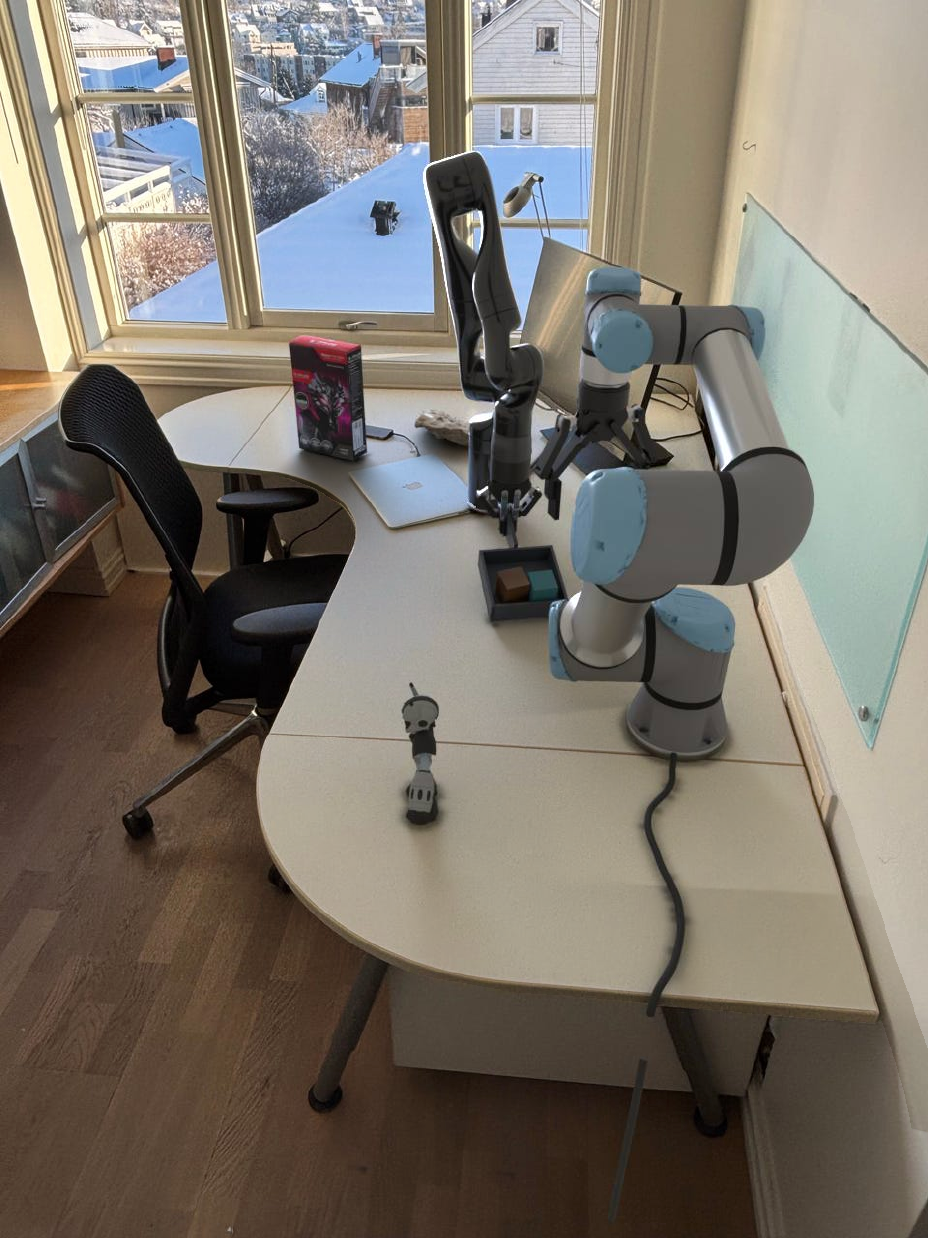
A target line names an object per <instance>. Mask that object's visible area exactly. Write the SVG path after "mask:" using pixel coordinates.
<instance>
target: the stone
mask: <svg viewBox="0 0 928 1238" xmlns="http://www.w3.org/2000/svg"><path fill="white" fill-rule="evenodd" d="M414 420H415V422H414V424H413V425H414V428H416V429H419V428H420V429H421V428H422V429H423V428H424V429H425V430H426V431H427V432H428V433H430V434H433V435H435V438H436V439H438V440H445V439H446V440H448V441H450V442H452V443H457V444H459V445H462V446H466V447H469V421H464V420H460V419H458V418H457V417H452V416H451V415H450V414H449V413H446V412H445V411H442V410H437V409H429V410H422V411H421V412H420V413H419V415H416V417H415V418H414Z"/></svg>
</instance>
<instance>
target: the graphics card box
mask: <svg viewBox="0 0 928 1238" xmlns="http://www.w3.org/2000/svg"><path fill="white" fill-rule="evenodd" d="M288 348H289V349H288V350H289V358H290V367H291V377H292V389H293V399H294V409H295V418H296V419H295V420H296V428H297V429H296V431H297V437H298V438H297V441H298V448H299V449H301V450H305V451H309V452H313V453H318V454H323V455H327V456H331V457H335V458H339V459H344V460H347V461H351V462H354V461H356V460H358V459H359V458H360V457H362V456H364V455H365V454H367V453H368V445H367V444H368V443H367V426H366V410H365V393H364V377H363V376H364V375H363V356H362V345H361V343H360V344H359V343H351V342H346V341H341V340H335V339H334V340H333V339H329V338H325V337H324V338H323V337H318V336H313V335H308V334H301V335H299V336H297V337H295V338H293V339H292V340H291V341H289V342H288Z"/></svg>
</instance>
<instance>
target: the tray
mask: <svg viewBox="0 0 928 1238" xmlns="http://www.w3.org/2000/svg"><path fill="white" fill-rule="evenodd" d="M506 520H507V532H506V537H505V538H506V542H507V546H508V547H506V548H505V547H504V548H503V547H502V548H490V549H478V557H477V568H478V573H479V577H480V582H481V586H482V591H483V595H484V600H485V605H486V609H487V613H488V618H489V622H503V621H513V620H514V621H515V620H526V619H527V620H528V619H538V618H549V612H550V605H551V604H552V603H553V602H555V601H562V600H564V599H565V600H570V599H569V595H568V592H567V589H566V585H565V582H564V580H563V576H562V573H561V569H560V566H559V563H558V559H557V556H556V552H555V549H554V545H553V544H548V545H533V546H519V540H518V537H517V532H516V533H515V529H514V525H513V521H512V517H511V514H510V507H508V508H507V512H506ZM517 567H521V568H522V570H523V572H524V574H525V575H526V577H527V575H528V572H536V571H545V570H552V572H553V575H554V578H555V581H556V583H557V586H558V590H557V595H556V600H546V601H533V602H521V603H508V604H500V602H499V600H498V598H497V596H496V594H495V591H496V584H497V576H498V572H500V571H504V570H509V569H513V568H517Z"/></svg>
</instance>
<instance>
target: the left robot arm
mask: <svg viewBox="0 0 928 1238" xmlns="http://www.w3.org/2000/svg"><path fill="white" fill-rule="evenodd" d="M423 184H424V190H425V195H426V199H427V204H428V208H429V212H430V215H431V219H432V224H433V227H434V232H435V235H436V239H437V243H438V246H439V253H440V257H441V263H442V270H443V277H444V282H445V289H446V294H447V295H446V296H447V300H448V305H449V309H450V313H451V318H452V319H451V320H452V322H453V328H454V334H455V335H454V336H455V339H456V346H457V347H456V349H457V356H458V357H457V358H458V368H459V380H460V386H461V390H462V393H463V395H464V396H465V397H466V399H468V400H470V401H474V402H479V403H485V404H491V405H493V410H489V411H485V412H481V413H478V414H475V415H473V416H472V417H471V418H470V419H469V421H468V422H469V445H468V454H467V455H468V458H467V459H468V460H467V461H468V462H467V467H468V468H467V470H468V471H467V500H468V501H469V502H470V503H472V504H473V505H474V506H476V508H473V507H471V506H470V505H469V504H468V502H467V507H468V509H470V510H471V511H473V512H475V513H479V514H484V515H489V516H490V517H491V519H498V521H497V530H498V532H499V534H500V535H501V536H502V538H506V532H507V520H506V512H507V508H509V510H510V514H511V517H512V521H513V525H514V529H515V533H516V534H517V532H518V520H519V518H521V517H523V518H524V517H527V516H528V514H529V513H530V512H531V511H532V509H533V508H534V507H535V506H536V504H537V503H538V502H539V501H540V499H541V498H542V496H543V493H542V490H541V489H540V487H539V486H534V485H533V483H532V481H531V479H530V477H531V470H533V469H534V467H535V466H536V464H537V462H538V460H539V458H540V456H541V454H542V452H541V453H540V454H539V455H538V456H537V457H536V458H535V459H534V460H533V461H532V462H531V460H532V453H533V449H532V448H533V441H532V423H533V410H534V407H535V404H536V402H537V398H538V395H539V392H540V389H541V386H542V382H543V379H544V374H545V361H544V357H543V354H542V352H541V350H540V348H538V347H537V346H536V345H535V344H533V343H527V342H526V343H519V344H517V345H513V346H511V333H513V332H515V331H516V330H518V329H519V328H520V327H521V326H522V323H523V320H522V315H521V314H522V313H521V310H520V307H519V304H518V300H517V296H516V293H515V290H514V286H513V284H512V280H511V276H510V272H509V267H508V262H507V257H506V251H505V243H504V239H503V231H502V225H501V221H500V216H499V215H500V214H499V210H498V205H497V199H496V195H495V189H494V184H493V180H492V176H491V172H490V169H489V166H488V164H487V161H486V159H485V157H484V156H483V155H482V154H481V152H479V151H477V150H471V151H467V152H464V153H461V154H456V155H454V156H451V157H447V158H443V159H441V160H437V161H434V162H431V163H430V164H427V166H426V167H425V168H424V171H423ZM475 212H478V214H479V217H480V218H479V219H480V226H481V235H480V243H479V249H478V252H476V251H475V249H473V248H472V247H471V246H470V245H469V244H467V242H466V241H465V240H464V239H463V237H461V235H460V234H459V233H458V231H457V230H456V228H455V226H454V223H453V221H454V219H456V218H460V217H462V216H465V215H469V214H472V213H475ZM482 337H483V354H482V353H481V350H480V342H481V340H482ZM524 498H525V499H524ZM523 499H524V500H523ZM522 500H523V501H522ZM521 501H522V503H521Z"/></svg>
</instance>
